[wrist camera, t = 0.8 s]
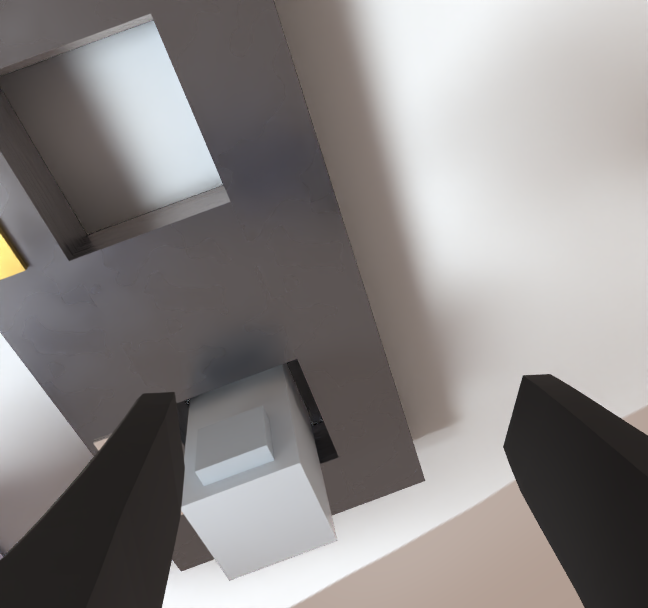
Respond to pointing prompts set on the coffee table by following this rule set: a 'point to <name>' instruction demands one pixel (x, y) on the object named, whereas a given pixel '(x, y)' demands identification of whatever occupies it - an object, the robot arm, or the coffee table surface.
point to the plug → (254, 474)
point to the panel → (198, 254)
